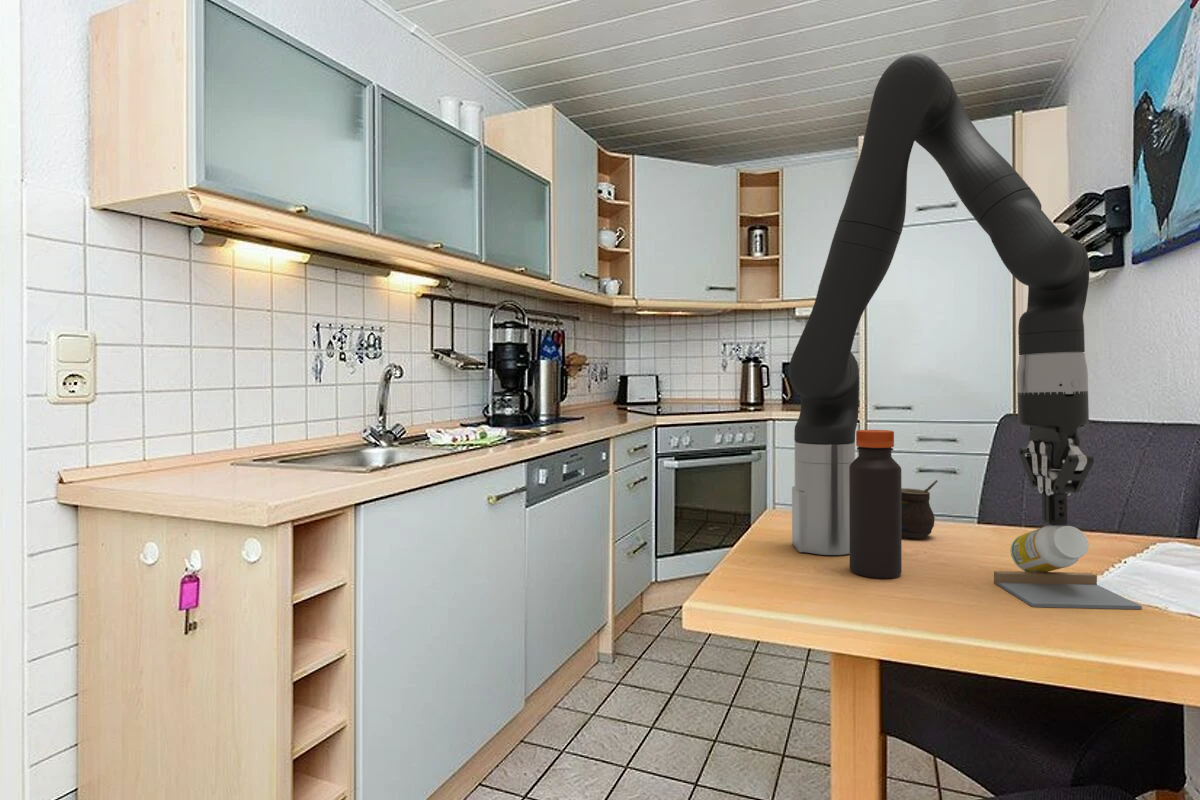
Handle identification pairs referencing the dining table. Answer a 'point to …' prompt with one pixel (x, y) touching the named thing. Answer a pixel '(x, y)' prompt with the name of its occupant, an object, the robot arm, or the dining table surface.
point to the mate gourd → (916, 513)
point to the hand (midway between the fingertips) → (1055, 523)
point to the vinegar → (875, 507)
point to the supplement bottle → (1049, 548)
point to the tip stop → (1060, 590)
